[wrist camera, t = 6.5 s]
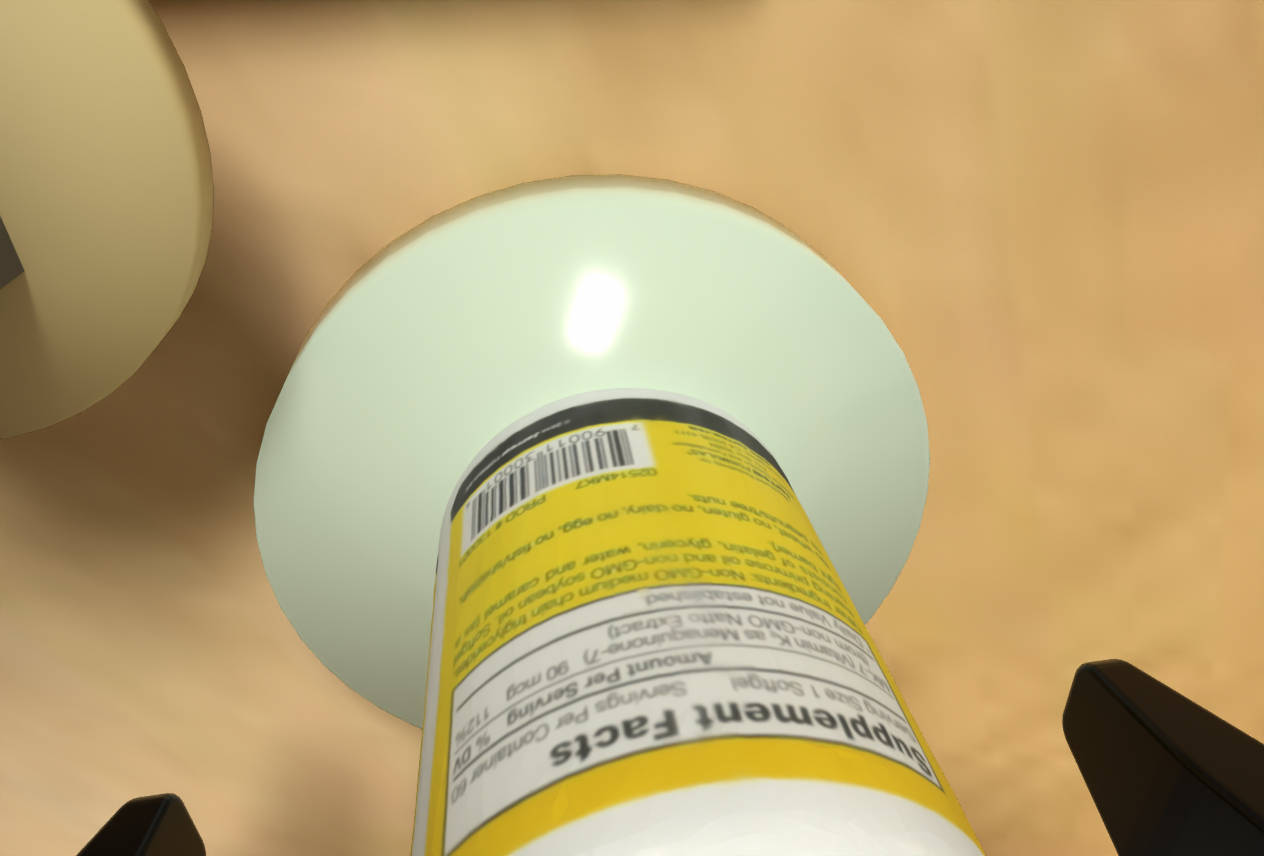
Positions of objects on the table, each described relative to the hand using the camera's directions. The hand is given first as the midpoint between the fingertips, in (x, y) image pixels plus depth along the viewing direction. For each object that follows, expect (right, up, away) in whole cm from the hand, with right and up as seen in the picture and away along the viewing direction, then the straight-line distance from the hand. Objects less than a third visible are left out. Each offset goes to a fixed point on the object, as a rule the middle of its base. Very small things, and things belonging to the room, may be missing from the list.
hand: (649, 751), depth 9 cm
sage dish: (-1, +2, +4) cm, 5 cm away
